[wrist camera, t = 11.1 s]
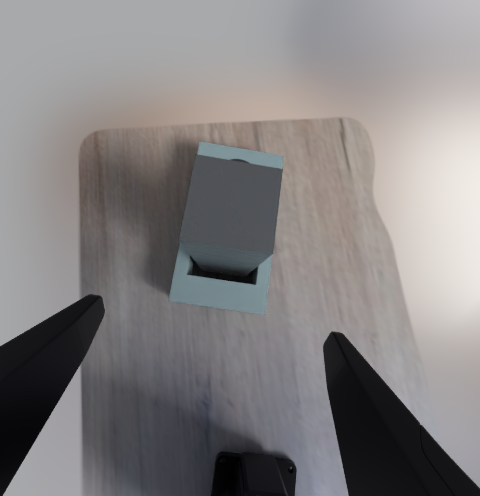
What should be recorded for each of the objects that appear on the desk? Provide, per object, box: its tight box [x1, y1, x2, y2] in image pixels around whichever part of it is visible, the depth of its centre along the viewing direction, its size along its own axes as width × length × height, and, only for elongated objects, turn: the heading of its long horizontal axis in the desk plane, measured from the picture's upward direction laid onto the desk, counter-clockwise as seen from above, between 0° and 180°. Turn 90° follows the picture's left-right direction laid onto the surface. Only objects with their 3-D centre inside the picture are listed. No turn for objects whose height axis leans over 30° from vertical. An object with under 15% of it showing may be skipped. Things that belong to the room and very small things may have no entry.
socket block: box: [168, 142, 284, 315], centre depth 22 cm, size 14×8×3 cm, turn 172°
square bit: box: [179, 154, 283, 277], centre depth 17 cm, size 4×4×12 cm
